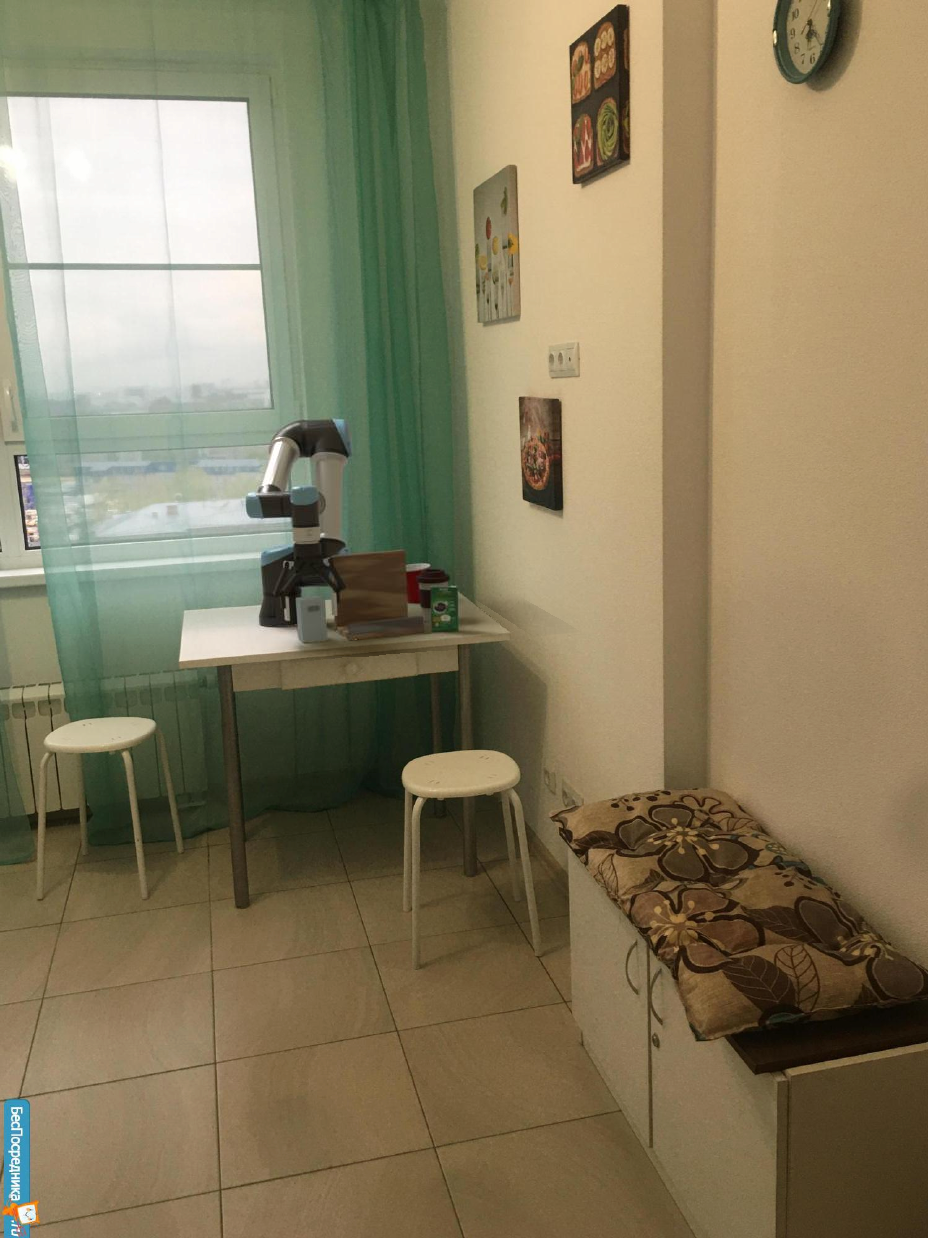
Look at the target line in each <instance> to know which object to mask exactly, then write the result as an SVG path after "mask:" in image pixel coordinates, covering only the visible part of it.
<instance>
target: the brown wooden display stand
mask: <svg viewBox="0 0 928 1238" xmlns="http://www.w3.org/2000/svg"><path fill="white" fill-rule="evenodd" d="M331 558H332V559H333V563H334V567H335V568H336V570H337V572H338V574H339V575H340V577H341V579H342V581H343V583H344V584H345V586H346V589H344V590H341V591H340V603H337V616H334V615H333V616H334V617H333V618H334V631H335V632H336V631H337V632H336V633H338V634H339V635H341V636H342V637H344V638H345V637H346V638H345V639H347V640H349V641H351V640H353V641H356V640H355V639H361V640H367V639H366V638H369V639H374V638H373V637H378V638H382V637H381V636H386V637H392V635H394V636H398V635H397V634H403V635H408V634H409V633H411V634H417V633H416V632H419V633H424V632H425V624H424V619H423V616H422V615H416V616H409V606H408V602H407V579H406V565H407V561H406V559H407V558H406V550H405V549H394V550H384V551H383V550H382V551H373V552H360V553H351V554H348V555H336V556H331ZM332 582H333V583H334V584H335V585H336V586H338V584H337V582H336V580H335V578H334V577H333V575H332ZM332 592H334V590H333V589H332Z"/></svg>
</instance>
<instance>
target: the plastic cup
mask: <svg viewBox="0 0 928 1238" xmlns="http://www.w3.org/2000/svg"><path fill="white" fill-rule="evenodd" d="M430 567H431V564H430V563H412V564H411V563H410V564H406V579H407V604H408V603H409V604H420V597H419V582H417V576H418V575H420V574H421V571H423V570H427V569H430Z"/></svg>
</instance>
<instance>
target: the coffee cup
mask: <svg viewBox="0 0 928 1238" xmlns="http://www.w3.org/2000/svg"><path fill="white" fill-rule="evenodd" d="M450 580H451V579H450V574H448V573H446V572H445V570H444V569H440V568H429V569H427V570H423V571H421V574H420V575H418V576H417V582H419V597H420V603H419V605H420V608H421V616H423V619H424V621H425V622H429V621H430V623H431V586H449V585H448V582H450Z"/></svg>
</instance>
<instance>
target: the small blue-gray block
mask: <svg viewBox="0 0 928 1238" xmlns="http://www.w3.org/2000/svg"><path fill="white" fill-rule="evenodd" d="M296 608H297V624H298V625H297V636H298V637H297V639H299V640H298V641H299V642H300V643H302V642H303V643H302V644H305V643H304V642H309V643H315V642H314V641H318V642H324V641H328V629H327V613H326V612H327V610H326V598H325V597H324V596H322V595H314V596H313V595H312V596H302V597H301V598H296Z"/></svg>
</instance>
